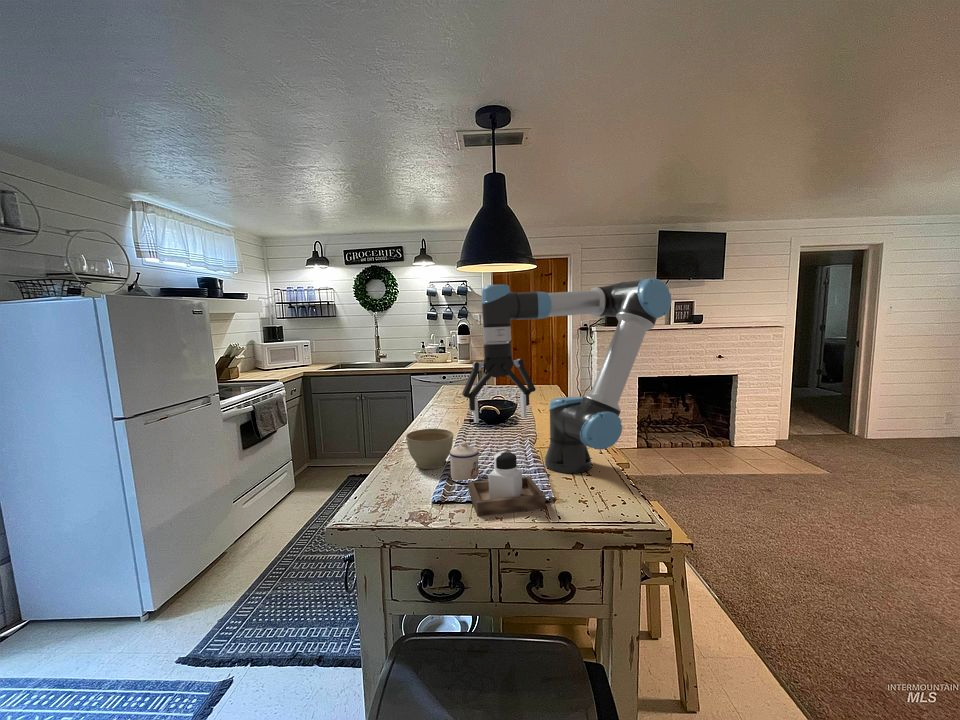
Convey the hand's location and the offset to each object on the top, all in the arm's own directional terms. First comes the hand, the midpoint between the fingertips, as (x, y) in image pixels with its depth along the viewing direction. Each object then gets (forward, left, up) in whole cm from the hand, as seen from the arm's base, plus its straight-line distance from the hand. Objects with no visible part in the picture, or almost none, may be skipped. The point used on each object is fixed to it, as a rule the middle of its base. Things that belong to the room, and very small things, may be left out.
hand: (500, 419), depth 116 cm
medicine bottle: (0, +3, -21) cm, 21 cm away
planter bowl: (+18, -31, -22) cm, 42 cm away
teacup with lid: (+8, -17, -22) cm, 29 cm away
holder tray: (0, +3, -22) cm, 22 cm away
